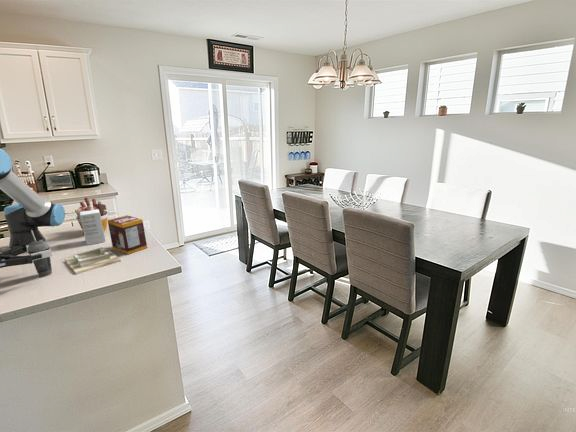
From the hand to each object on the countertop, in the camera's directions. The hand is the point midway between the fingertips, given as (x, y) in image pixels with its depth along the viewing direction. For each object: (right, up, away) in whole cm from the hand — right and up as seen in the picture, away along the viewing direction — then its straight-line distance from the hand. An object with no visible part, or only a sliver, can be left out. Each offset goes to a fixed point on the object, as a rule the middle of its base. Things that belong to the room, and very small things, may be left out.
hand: (48, 248), depth 133 cm
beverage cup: (-2, -11, +1) cm, 12 cm away
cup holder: (+11, -7, +13) cm, 18 cm away
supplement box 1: (-4, 0, +40) cm, 40 cm away
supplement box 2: (+20, -3, +28) cm, 35 cm away
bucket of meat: (-15, +4, +57) cm, 59 cm away
